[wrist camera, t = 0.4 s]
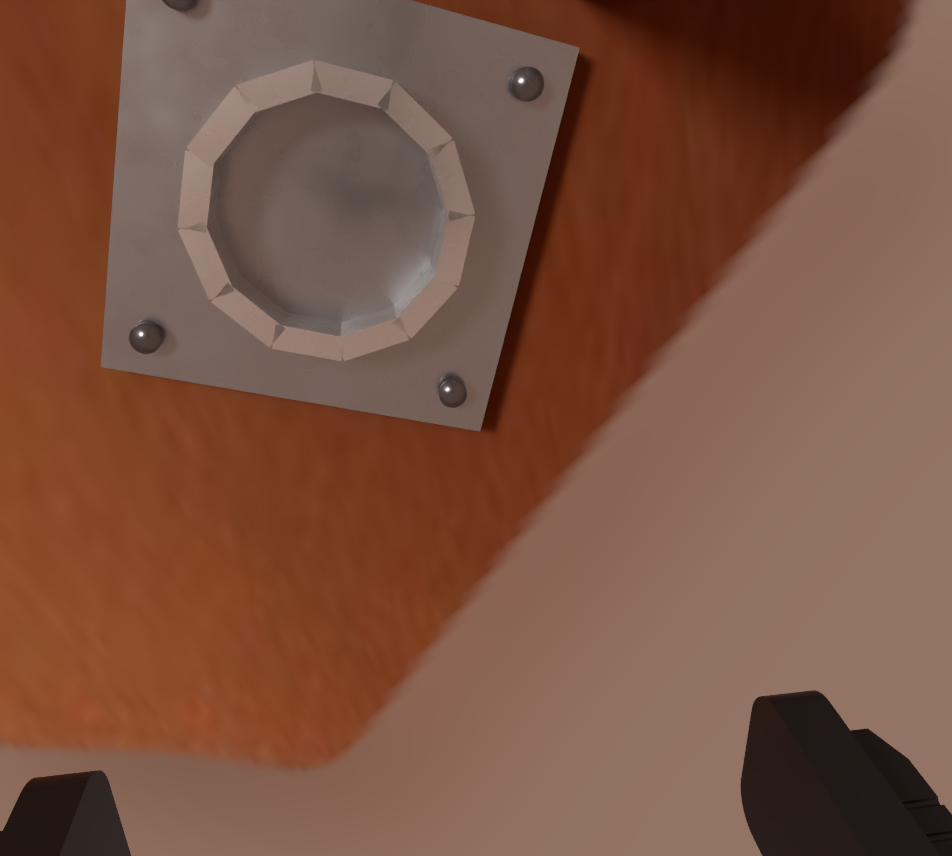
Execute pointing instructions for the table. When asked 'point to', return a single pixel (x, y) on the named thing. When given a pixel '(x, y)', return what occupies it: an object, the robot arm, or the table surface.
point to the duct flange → (327, 198)
